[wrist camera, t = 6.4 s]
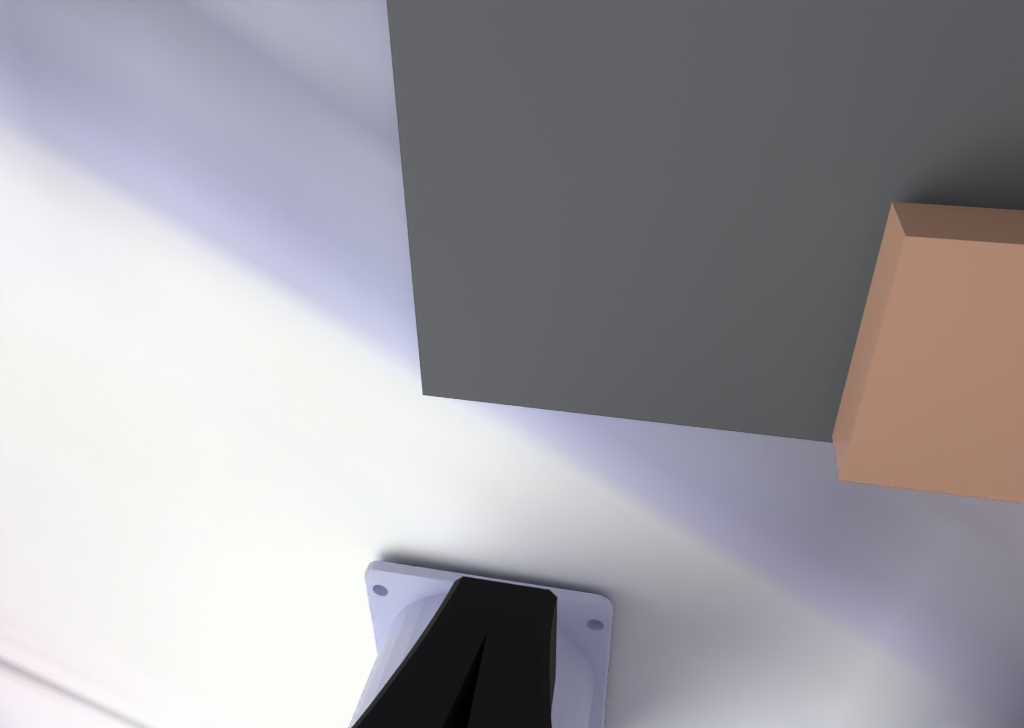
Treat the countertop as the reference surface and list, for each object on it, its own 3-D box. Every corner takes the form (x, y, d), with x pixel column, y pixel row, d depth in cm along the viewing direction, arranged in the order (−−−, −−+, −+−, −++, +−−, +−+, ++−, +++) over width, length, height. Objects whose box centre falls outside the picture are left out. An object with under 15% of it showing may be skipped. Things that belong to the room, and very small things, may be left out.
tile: (830, 426, 20) (1102, 456, 19) (839, 480, 19) (1137, 517, 18) (888, 193, 17) (1222, 215, 16) (905, 236, 15) (1278, 262, 14)
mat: (1117, 465, 20) (1124, 476, 20) (427, 386, 23) (423, 394, 23) (1417, -119, 13) (1435, -118, 13) (382, -121, 16) (375, -118, 16)
